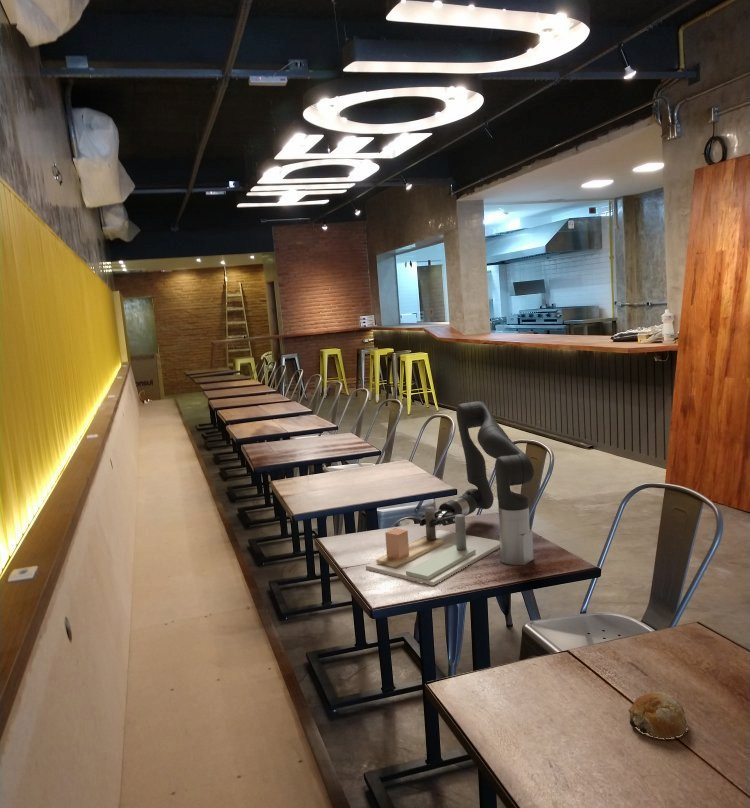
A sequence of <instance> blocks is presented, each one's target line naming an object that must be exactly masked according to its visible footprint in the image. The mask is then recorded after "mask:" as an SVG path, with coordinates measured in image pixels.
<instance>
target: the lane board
mask: <svg viewBox="0 0 750 808" xmlns="http://www.w3.org/2000/svg"><path fill="white" fill-rule="evenodd" d="M436 538H439V539H444V540H445V543H444V544H442V545H440V546H438V547H436V548H434V549H432V550H430V551H428V552H426V553H424V554H423V555H421V556H419V557H417V558H415V559H413V560H411V561H409V562H407V563H405V564H403V565H401V566H399V567H397V568H394V567H390V566H386V565H382V564H378V563H376V560H374V561H372V562H370V563H368V564H366V565H365V570H367V571H371V572H376V573H379V574H383V575H388V576H392V577H395V576H396V577H395V578H399V577H400V578H399V579H403V578H404V580H407V579H408V581H411V580H413V581H412V582H415V581H417V582H416V583H419V582H422V583H421V584H423V583H426V584H425V585H427V584H430V585H429V586H431V585H435V584H437V583H438V584H440V583H441V582H440V581H442V580H443V581H444V579H445V580H447V579H448V578H450V577H452V576H453V575H452V574H454V573H455V574H457V573H459V572H460V571H462V570H464V569H466V568H467V567H469V566H471V565H472V564H474V563H476V562H478V561H479V560H481V559H483V558H484V557H486V556H487V555H489V554H491V553H493V552H494V551H496V550H498V549H500V540H496V539H489V538H486V537H485V538H484V537H480V536H474V535H469V534H466V547H467V548H471V549H476V553H475V554H473V555H471V556H470V557H468V558H466V559H464V560H462V561H461V562H459V563H457V564H455V565H454V566H452V567H450V568H448V569H447V570H445V571H443V572H441V573H440V574H438V575H436V576H434V577H433V578H431V579H429V580H425V579H421V578H417V577H413V576H409V575H406V571H407V570H409V569H411V568H412V567H414V566H416V565H418V564H420V563H422V562H424V561H426V560H428V559H429V558H431V557H433V556H435V555H437V554H439V553H441V552H443V551H445V550H446V549H448V548H450V547H452V546H454V545H456V532H455V531H454V532H453V531H447V530H443V529H438V530H436ZM470 564H471V565H470ZM468 565H469V566H468ZM465 567H466V568H465ZM463 568H464V569H463ZM461 569H462V570H461ZM458 571H459V572H458ZM456 572H457V573H456ZM455 574H454V575H455ZM451 575H452V576H451ZM449 576H450V577H449ZM447 577H448V578H447ZM446 578H447V579H446ZM443 581H442V582H443ZM439 582H440V583H439ZM438 584H437V585H438ZM435 586H436V585H435Z"/></svg>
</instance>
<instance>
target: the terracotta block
mask: <svg viewBox="0 0 750 808" xmlns="http://www.w3.org/2000/svg"><path fill="white" fill-rule="evenodd" d="M384 535H385V547H386V555H387V557H389V558H394V559H398V560H400V559H402V558H404V557H406V556H408V555H409V545H408V544H409V532H408V530H406V529H401V528H392V529H391V530H388V531H385V533H384Z"/></svg>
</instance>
